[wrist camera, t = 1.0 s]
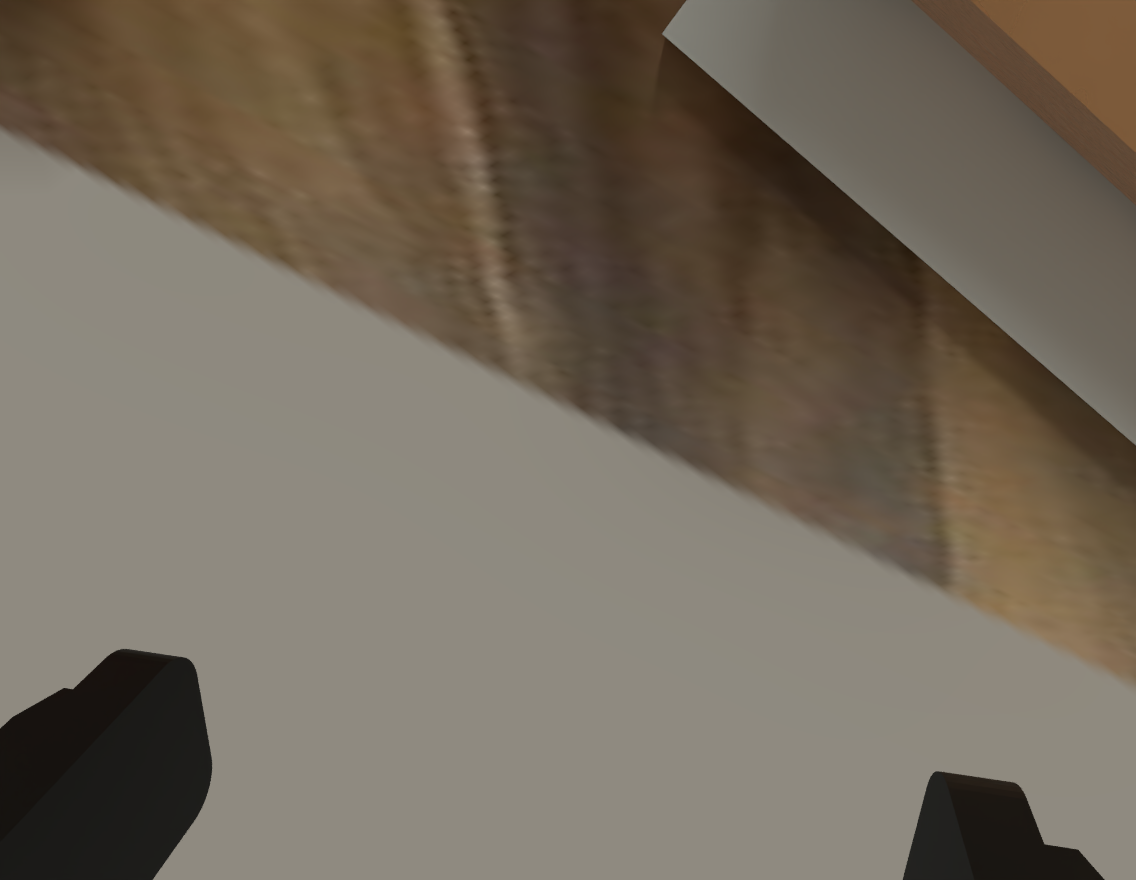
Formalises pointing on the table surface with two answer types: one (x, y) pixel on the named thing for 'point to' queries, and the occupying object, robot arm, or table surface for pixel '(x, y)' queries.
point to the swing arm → (1060, 68)
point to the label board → (944, 170)
